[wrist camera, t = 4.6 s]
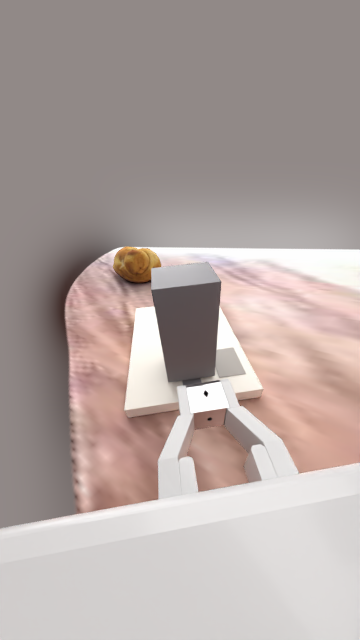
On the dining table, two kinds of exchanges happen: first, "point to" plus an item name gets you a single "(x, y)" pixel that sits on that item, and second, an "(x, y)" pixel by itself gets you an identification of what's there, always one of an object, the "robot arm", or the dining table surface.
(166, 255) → the dining table surface
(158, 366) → the switch panel
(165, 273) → the switch tab
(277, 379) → the dining table surface
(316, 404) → the dining table surface
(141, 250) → the bread roll
